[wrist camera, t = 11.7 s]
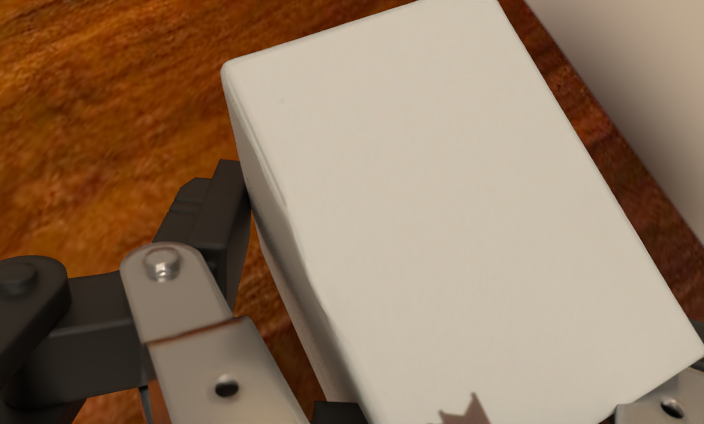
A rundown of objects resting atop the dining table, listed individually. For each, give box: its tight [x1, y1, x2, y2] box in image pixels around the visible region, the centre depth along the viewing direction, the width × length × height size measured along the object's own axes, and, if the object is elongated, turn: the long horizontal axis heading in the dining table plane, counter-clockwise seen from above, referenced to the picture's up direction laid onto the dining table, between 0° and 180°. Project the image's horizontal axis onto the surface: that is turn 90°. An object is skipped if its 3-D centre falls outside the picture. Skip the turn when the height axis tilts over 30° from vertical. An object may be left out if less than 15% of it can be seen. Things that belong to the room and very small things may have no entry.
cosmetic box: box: [221, 0, 704, 424], centre depth 12 cm, size 6×4×12 cm
